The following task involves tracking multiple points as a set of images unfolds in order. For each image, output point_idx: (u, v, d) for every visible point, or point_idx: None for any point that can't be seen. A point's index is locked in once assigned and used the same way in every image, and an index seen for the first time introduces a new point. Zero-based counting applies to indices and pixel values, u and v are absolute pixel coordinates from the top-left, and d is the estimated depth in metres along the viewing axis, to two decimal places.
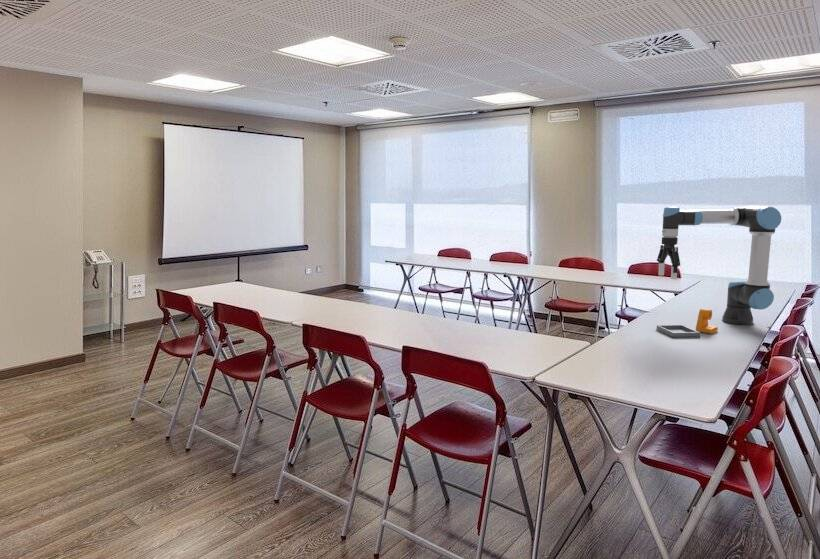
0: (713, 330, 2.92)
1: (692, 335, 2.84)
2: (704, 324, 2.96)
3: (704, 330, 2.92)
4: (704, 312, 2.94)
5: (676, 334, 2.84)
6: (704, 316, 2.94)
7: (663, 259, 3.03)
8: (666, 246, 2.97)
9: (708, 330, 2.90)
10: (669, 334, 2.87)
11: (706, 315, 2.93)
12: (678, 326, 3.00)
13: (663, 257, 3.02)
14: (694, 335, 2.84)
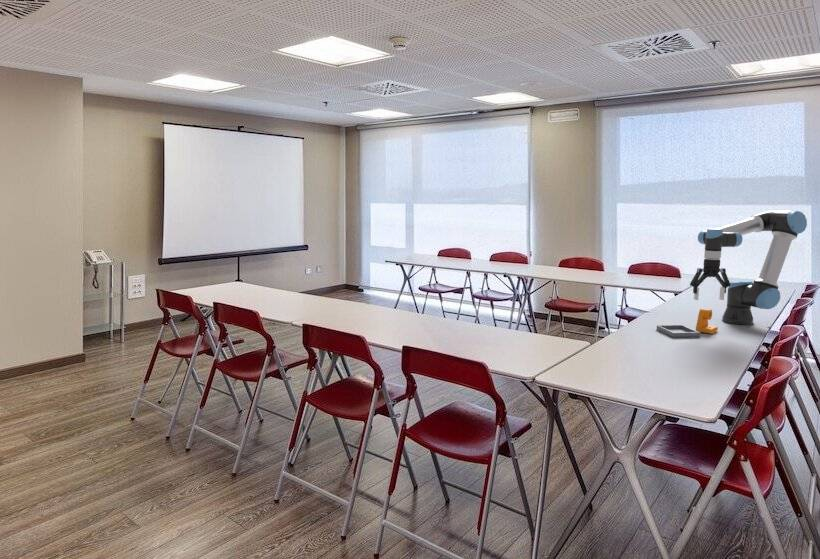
0: (713, 330, 2.92)
1: (692, 335, 2.84)
2: (704, 324, 2.96)
3: (704, 330, 2.92)
4: (704, 312, 2.94)
5: (676, 334, 2.84)
6: (704, 316, 2.94)
7: (721, 283, 2.92)
8: None
9: (708, 330, 2.90)
10: (669, 334, 2.87)
11: (706, 315, 2.93)
12: (678, 326, 3.00)
13: (718, 280, 2.93)
14: (694, 335, 2.84)
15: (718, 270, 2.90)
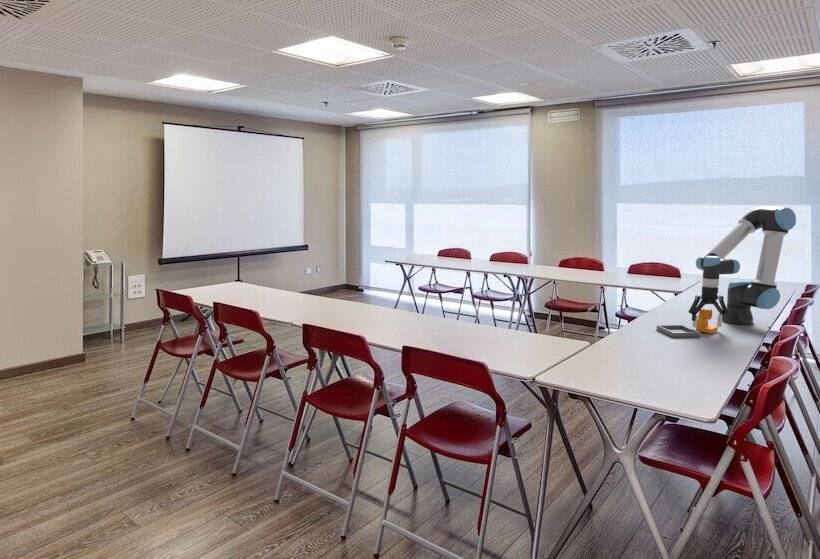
0: (713, 330, 2.92)
1: (692, 335, 2.84)
2: (704, 324, 2.96)
3: (704, 330, 2.92)
4: (704, 312, 2.94)
5: (676, 334, 2.84)
6: (704, 316, 2.94)
7: (718, 310, 2.94)
8: None
9: (708, 330, 2.90)
10: (669, 334, 2.87)
11: (706, 315, 2.93)
12: (678, 326, 3.00)
13: (716, 307, 2.95)
14: (694, 335, 2.84)
15: (716, 297, 2.92)
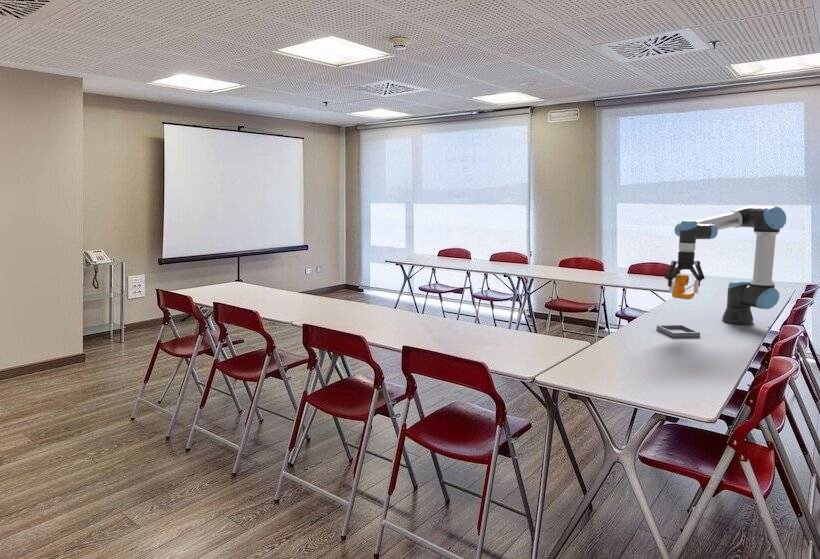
0: (689, 296, 2.86)
1: (692, 335, 2.84)
2: (680, 290, 2.90)
3: (680, 295, 2.86)
4: (680, 277, 2.88)
5: (676, 334, 2.84)
6: (680, 281, 2.88)
7: (695, 275, 2.89)
8: None
9: (684, 295, 2.84)
10: (669, 334, 2.87)
11: (682, 280, 2.87)
12: (678, 326, 3.00)
13: (693, 273, 2.89)
14: (694, 335, 2.84)
15: (692, 262, 2.87)
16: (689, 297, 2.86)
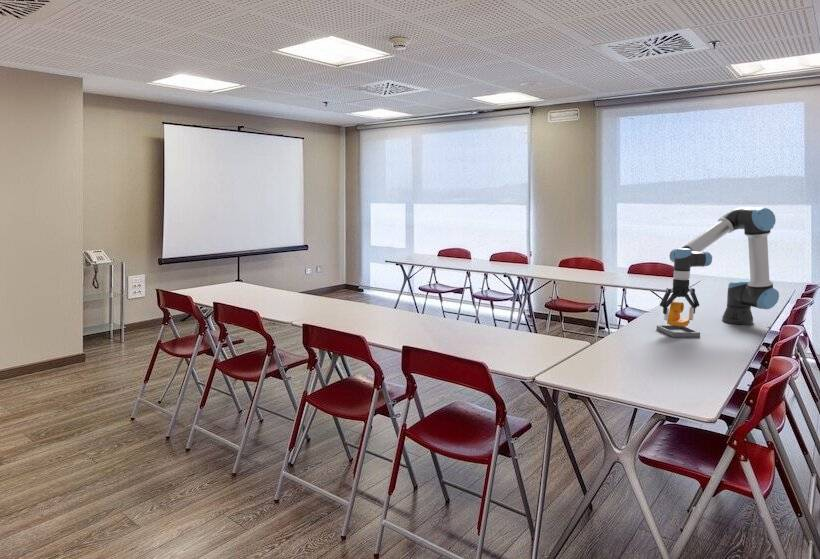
0: (684, 323, 2.88)
1: (692, 335, 2.84)
2: (675, 317, 2.92)
3: (675, 323, 2.88)
4: (675, 305, 2.90)
5: (676, 334, 2.84)
6: (675, 309, 2.90)
7: (690, 303, 2.90)
8: None
9: (679, 323, 2.86)
10: (669, 334, 2.87)
11: (677, 308, 2.89)
12: (678, 326, 3.00)
13: (687, 300, 2.91)
14: (694, 335, 2.84)
15: (687, 290, 2.88)
16: (684, 324, 2.88)
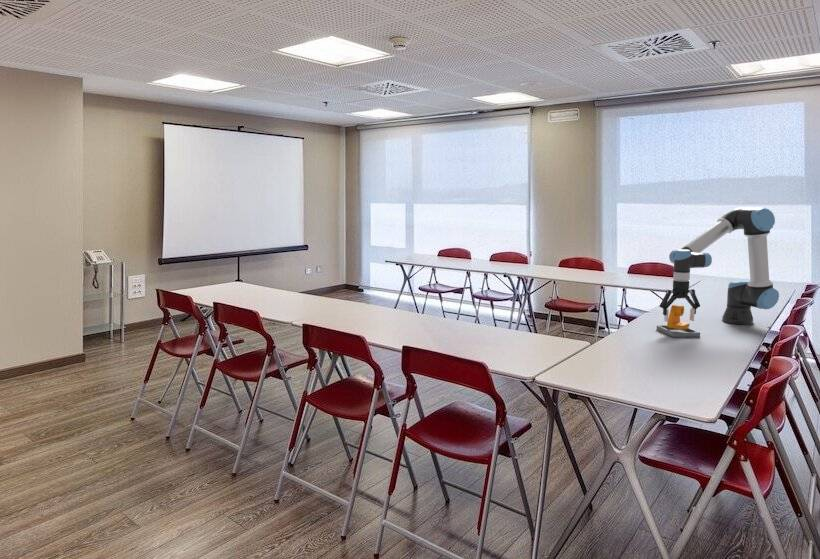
0: (684, 326, 2.88)
1: (692, 335, 2.84)
2: (675, 320, 2.92)
3: (675, 326, 2.88)
4: (676, 308, 2.90)
5: (676, 334, 2.84)
6: (676, 312, 2.90)
7: (690, 304, 2.91)
8: None
9: (679, 326, 2.87)
10: (669, 334, 2.87)
11: (678, 311, 2.89)
12: None
13: (688, 301, 2.91)
14: (694, 335, 2.84)
15: (687, 291, 2.89)
16: (684, 328, 2.88)
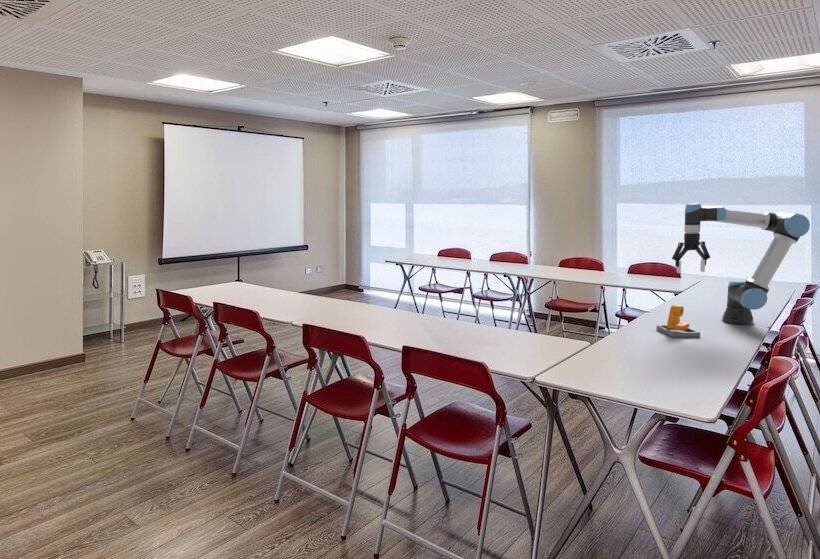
0: (684, 327, 2.88)
1: (692, 335, 2.84)
2: (675, 321, 2.92)
3: (675, 327, 2.88)
4: (675, 309, 2.90)
5: (676, 334, 2.84)
6: (675, 313, 2.90)
7: (701, 255, 3.05)
8: None
9: (679, 327, 2.87)
10: (669, 334, 2.87)
11: (677, 312, 2.89)
12: None
13: (699, 253, 3.05)
14: (694, 335, 2.84)
15: (698, 243, 3.03)
16: (684, 328, 2.88)
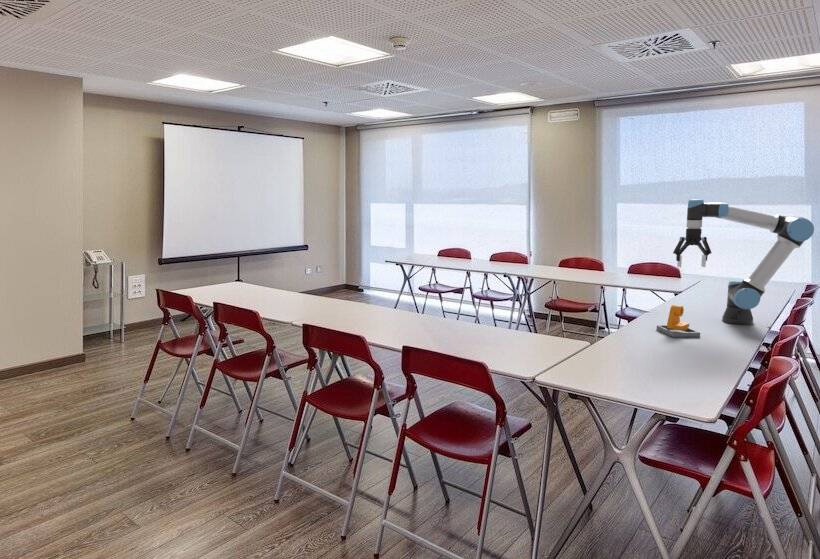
0: (684, 327, 2.88)
1: (692, 335, 2.84)
2: (675, 321, 2.92)
3: (675, 327, 2.88)
4: (675, 309, 2.90)
5: (676, 334, 2.84)
6: (675, 313, 2.90)
7: (702, 250, 3.09)
8: None
9: (679, 327, 2.87)
10: (669, 334, 2.87)
11: (677, 312, 2.89)
12: None
13: (700, 248, 3.09)
14: (694, 335, 2.84)
15: (699, 238, 3.07)
16: (684, 328, 2.88)
